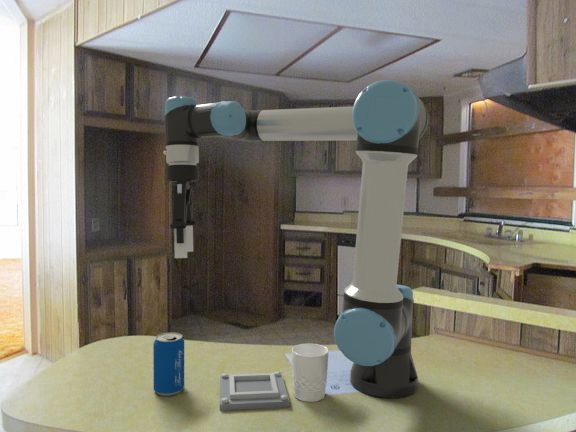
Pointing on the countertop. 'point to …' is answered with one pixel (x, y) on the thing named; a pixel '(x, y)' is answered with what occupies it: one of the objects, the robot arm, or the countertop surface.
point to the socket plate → (252, 391)
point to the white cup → (309, 371)
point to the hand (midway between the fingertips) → (184, 254)
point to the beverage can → (168, 363)
